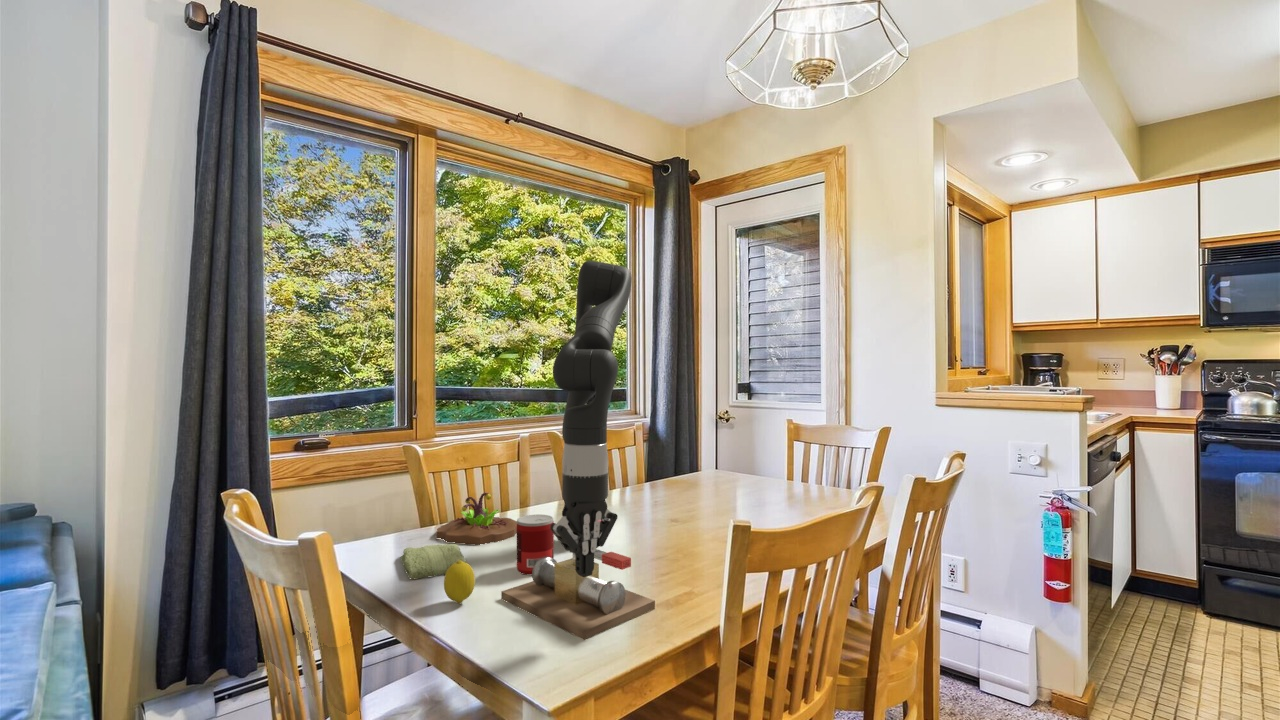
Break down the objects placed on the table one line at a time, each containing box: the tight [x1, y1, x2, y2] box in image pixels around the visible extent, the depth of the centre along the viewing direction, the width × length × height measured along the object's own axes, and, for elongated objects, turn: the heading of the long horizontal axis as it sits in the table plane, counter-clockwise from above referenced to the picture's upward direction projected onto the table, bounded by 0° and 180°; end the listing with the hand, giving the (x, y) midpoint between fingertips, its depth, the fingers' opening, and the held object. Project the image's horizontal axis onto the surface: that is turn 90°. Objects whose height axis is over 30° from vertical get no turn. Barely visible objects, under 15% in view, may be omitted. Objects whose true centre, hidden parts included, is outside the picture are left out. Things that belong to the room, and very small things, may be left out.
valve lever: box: [568, 548, 632, 570], centre depth 106 cm, size 14×3×2 cm, turn 47°
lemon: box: [443, 560, 476, 605], centre depth 110 cm, size 6×6×8 cm
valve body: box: [531, 553, 626, 614], centre depth 110 cm, size 20×6×9 cm, turn 46°
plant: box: [435, 492, 517, 546], centre depth 156 cm, size 20×20×11 cm
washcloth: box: [400, 543, 468, 580], centre depth 132 cm, size 13×18×3 cm
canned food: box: [516, 514, 555, 575], centre depth 129 cm, size 8×8×11 cm
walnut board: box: [500, 580, 656, 641], centre depth 110 cm, size 24×17×2 cm
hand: (584, 575), depth 97 cm, fingers closed
